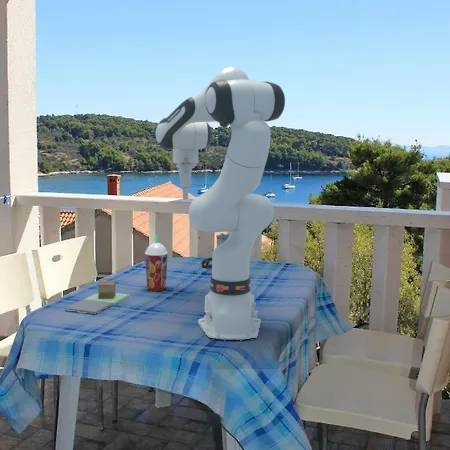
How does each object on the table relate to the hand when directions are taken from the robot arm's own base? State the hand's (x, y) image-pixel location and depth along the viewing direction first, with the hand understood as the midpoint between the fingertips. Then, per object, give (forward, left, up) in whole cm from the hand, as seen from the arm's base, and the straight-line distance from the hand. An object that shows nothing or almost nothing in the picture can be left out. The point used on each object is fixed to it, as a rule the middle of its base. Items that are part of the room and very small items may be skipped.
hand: (185, 197), depth 202 cm
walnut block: (-9, +26, -33) cm, 43 cm away
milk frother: (+39, -14, -35) cm, 54 cm away
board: (-14, +28, -34) cm, 47 cm away
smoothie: (+5, +10, -34) cm, 36 cm away
